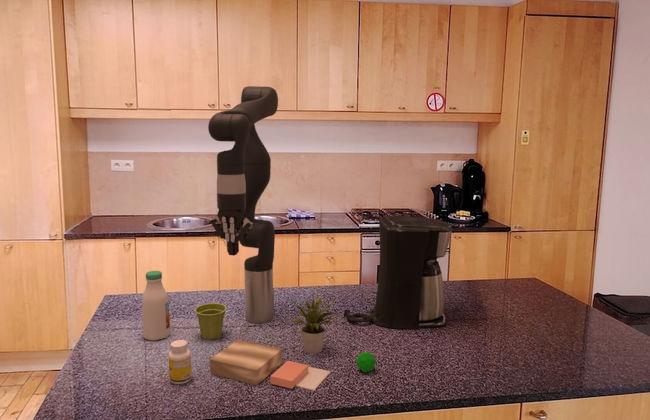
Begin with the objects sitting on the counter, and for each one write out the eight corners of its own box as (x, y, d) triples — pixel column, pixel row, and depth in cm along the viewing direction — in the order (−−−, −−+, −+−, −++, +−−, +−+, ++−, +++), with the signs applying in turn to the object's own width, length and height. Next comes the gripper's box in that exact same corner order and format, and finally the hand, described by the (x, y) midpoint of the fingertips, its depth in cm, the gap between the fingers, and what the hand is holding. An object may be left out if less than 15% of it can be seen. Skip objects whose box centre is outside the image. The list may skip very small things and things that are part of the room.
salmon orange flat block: (308, 365, 130) (308, 372, 130) (287, 360, 132) (287, 367, 133) (291, 381, 122) (291, 388, 122) (270, 376, 124) (270, 383, 125)
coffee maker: (460, 323, 163) (466, 222, 158) (375, 342, 149) (378, 231, 143) (418, 301, 183) (421, 211, 178) (339, 316, 169) (341, 218, 164)
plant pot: (232, 331, 156) (232, 305, 154) (216, 344, 147) (216, 316, 146) (206, 327, 159) (205, 301, 157) (189, 339, 150) (188, 312, 149)
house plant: (300, 367, 133) (300, 309, 131) (277, 347, 145) (276, 293, 142) (345, 354, 141) (345, 299, 138) (319, 337, 152) (319, 285, 150)
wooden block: (238, 353, 142) (238, 339, 141) (282, 362, 136) (282, 348, 135) (210, 373, 130) (209, 359, 129) (256, 385, 124) (256, 370, 124)
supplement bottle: (172, 374, 129) (170, 338, 128) (193, 373, 130) (192, 338, 128) (167, 385, 124) (165, 348, 122) (189, 384, 124) (188, 347, 123)
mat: (289, 363, 136) (289, 362, 136) (330, 372, 131) (330, 371, 131) (271, 380, 127) (271, 379, 127) (314, 390, 122) (314, 389, 122)
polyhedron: (374, 375, 129) (374, 358, 129) (355, 374, 130) (355, 357, 129) (375, 366, 134) (376, 350, 133) (357, 365, 135) (357, 348, 134)
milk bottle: (162, 342, 148) (158, 277, 145) (138, 339, 150) (134, 275, 146) (174, 331, 156) (172, 269, 152) (152, 329, 157) (148, 268, 154)
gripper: (260, 190, 133) (261, 254, 136) (219, 187, 138) (220, 249, 141) (244, 194, 126) (246, 261, 129) (201, 191, 132) (204, 255, 135)
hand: (233, 254), depth 135 cm, fingers closed
